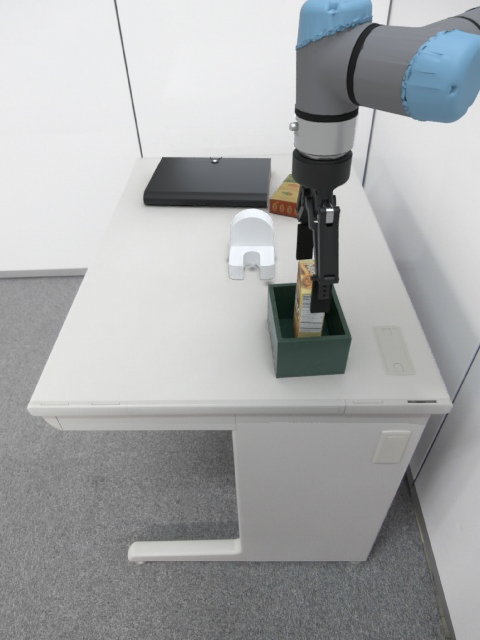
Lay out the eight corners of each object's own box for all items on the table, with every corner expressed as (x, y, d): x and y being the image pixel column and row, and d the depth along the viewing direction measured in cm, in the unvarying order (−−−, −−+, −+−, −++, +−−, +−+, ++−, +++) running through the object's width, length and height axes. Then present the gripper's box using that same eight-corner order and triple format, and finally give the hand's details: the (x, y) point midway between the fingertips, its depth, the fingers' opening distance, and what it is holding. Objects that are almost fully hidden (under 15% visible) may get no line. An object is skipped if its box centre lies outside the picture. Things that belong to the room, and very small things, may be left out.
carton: (268, 213, 114) (268, 197, 111) (288, 186, 125) (288, 172, 122) (299, 218, 112) (299, 203, 109) (316, 191, 122) (318, 176, 119)
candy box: (291, 326, 82) (296, 259, 71) (314, 327, 82) (322, 258, 71) (294, 362, 75) (300, 293, 65) (319, 362, 75) (329, 293, 65)
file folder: (271, 156, 130) (267, 196, 113) (270, 169, 133) (266, 210, 116) (162, 155, 133) (141, 194, 116) (164, 168, 136) (144, 208, 119)
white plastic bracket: (272, 234, 107) (273, 192, 99) (274, 279, 94) (275, 235, 86) (233, 234, 107) (231, 193, 100) (229, 279, 94) (226, 236, 87)
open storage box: (344, 373, 74) (352, 337, 68) (276, 378, 74) (277, 342, 68) (327, 315, 85) (332, 280, 79) (267, 319, 85) (267, 284, 79)
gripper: (280, 117, 64) (277, 241, 79) (310, 196, 46) (300, 340, 60) (331, 114, 64) (319, 239, 79) (381, 191, 46) (354, 336, 60)
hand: (311, 283), depth 69 cm, fingers open, 13 cm apart
